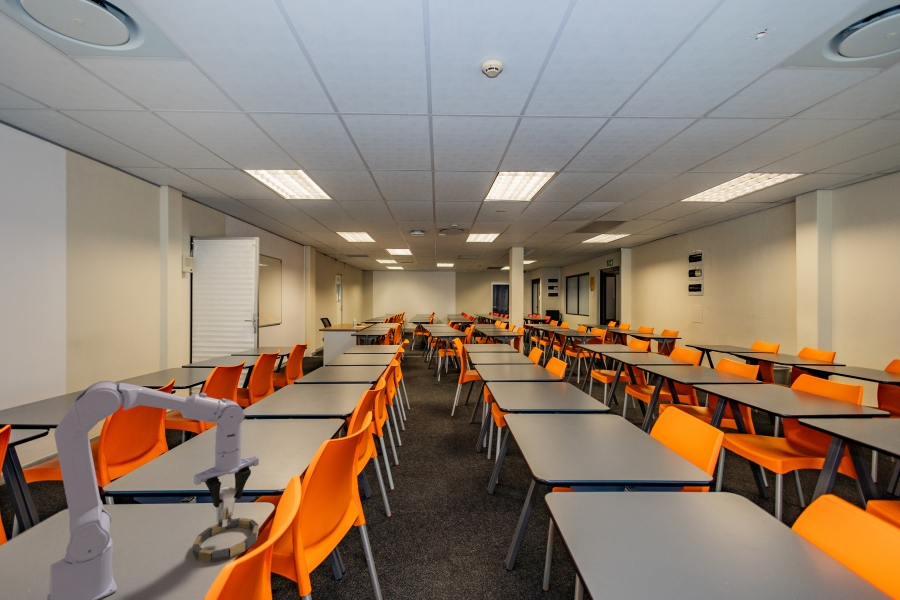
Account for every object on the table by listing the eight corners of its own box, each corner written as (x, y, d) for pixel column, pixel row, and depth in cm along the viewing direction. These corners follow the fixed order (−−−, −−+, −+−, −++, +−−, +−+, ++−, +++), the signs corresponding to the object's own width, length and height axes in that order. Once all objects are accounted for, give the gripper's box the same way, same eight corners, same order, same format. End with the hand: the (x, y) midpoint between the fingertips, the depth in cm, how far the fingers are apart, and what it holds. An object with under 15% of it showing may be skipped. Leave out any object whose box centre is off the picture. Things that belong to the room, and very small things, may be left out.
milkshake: (230, 530, 92) (233, 492, 91) (209, 528, 92) (212, 490, 91) (240, 518, 96) (243, 482, 96) (221, 516, 96) (223, 480, 96)
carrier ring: (204, 570, 83) (205, 561, 83) (186, 544, 92) (186, 536, 92) (267, 540, 94) (267, 532, 94) (245, 519, 103) (245, 512, 103)
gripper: (200, 462, 85) (199, 520, 85) (264, 444, 96) (263, 495, 96) (191, 454, 90) (190, 509, 89) (252, 438, 101) (251, 486, 101)
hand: (227, 501), depth 93 cm, fingers closed on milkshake, 4 cm apart
